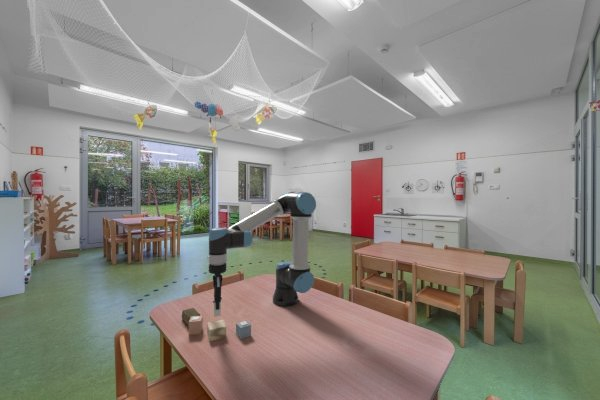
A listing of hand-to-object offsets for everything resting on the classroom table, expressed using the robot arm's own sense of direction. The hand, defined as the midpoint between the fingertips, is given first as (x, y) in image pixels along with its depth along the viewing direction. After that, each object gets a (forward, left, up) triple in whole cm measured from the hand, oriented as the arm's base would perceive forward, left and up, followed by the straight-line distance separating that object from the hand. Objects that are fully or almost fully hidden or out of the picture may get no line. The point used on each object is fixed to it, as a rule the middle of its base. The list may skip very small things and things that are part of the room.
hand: (217, 315), depth 113 cm
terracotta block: (+9, -6, -9) cm, 14 cm away
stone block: (+11, -16, -9) cm, 22 cm away
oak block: (0, 0, -9) cm, 9 cm away
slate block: (-11, +4, -9) cm, 15 cm away
